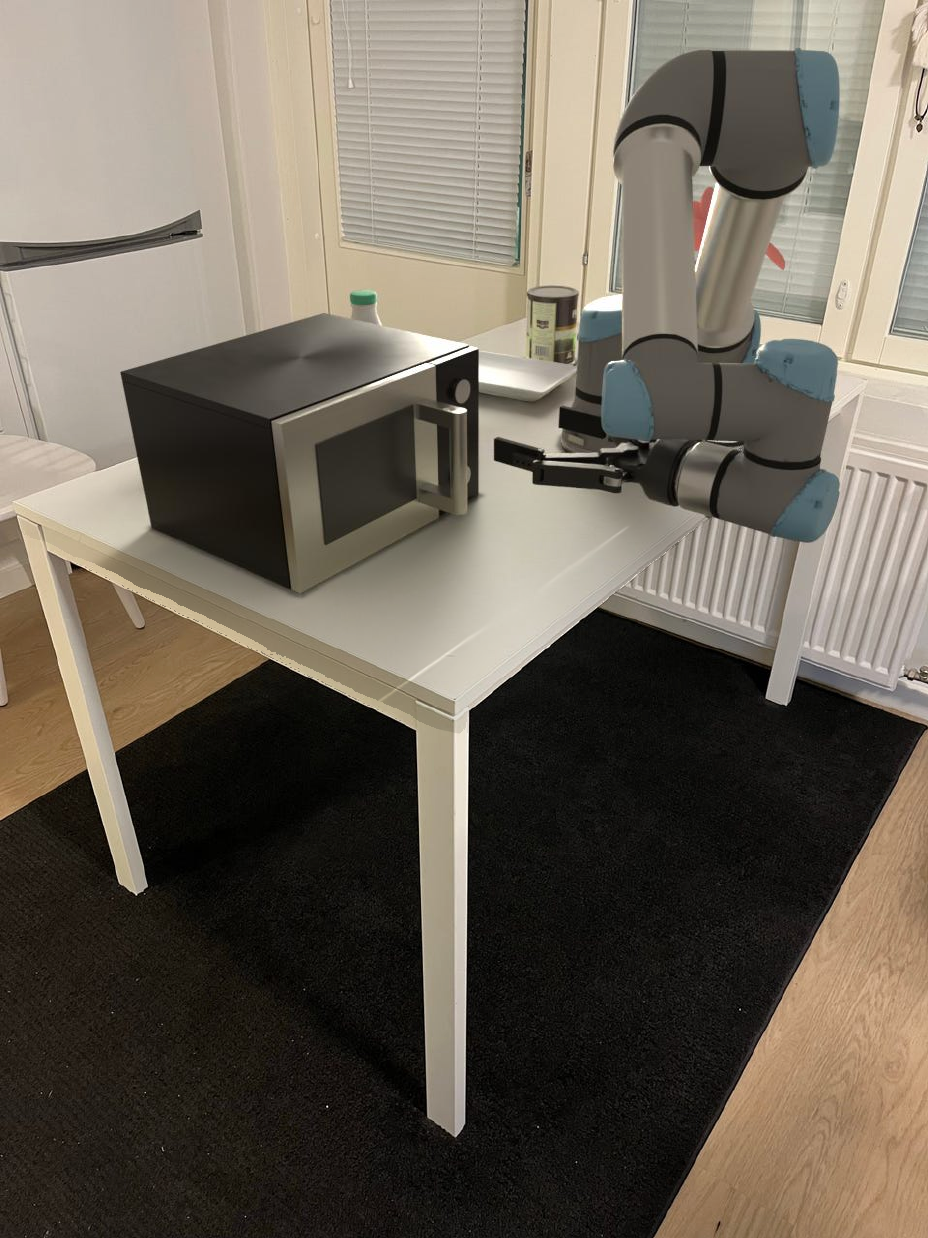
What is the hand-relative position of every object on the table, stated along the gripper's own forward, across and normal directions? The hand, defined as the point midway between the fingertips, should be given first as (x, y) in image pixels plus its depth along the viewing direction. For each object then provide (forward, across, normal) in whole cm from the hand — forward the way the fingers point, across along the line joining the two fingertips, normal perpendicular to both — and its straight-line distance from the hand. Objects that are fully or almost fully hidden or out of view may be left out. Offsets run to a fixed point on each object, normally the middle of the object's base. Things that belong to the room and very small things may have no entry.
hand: (529, 431), depth 115 cm
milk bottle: (+56, +30, -17) cm, 66 cm away
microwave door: (+13, -11, -17) cm, 24 cm away
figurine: (+13, +76, -17) cm, 79 cm away
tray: (+46, +53, -17) cm, 72 cm away
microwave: (+31, -7, -17) cm, 36 cm away
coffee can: (+45, +72, -17) cm, 86 cm away
